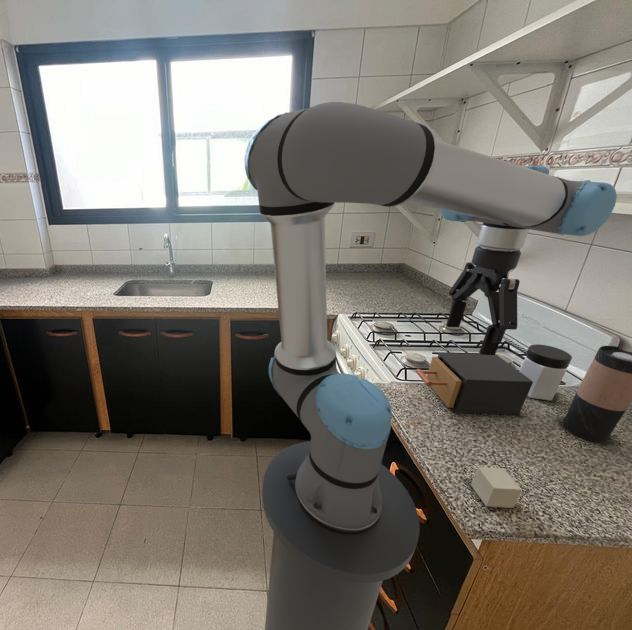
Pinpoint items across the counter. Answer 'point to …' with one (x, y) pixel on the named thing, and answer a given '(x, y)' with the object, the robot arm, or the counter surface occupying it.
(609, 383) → the travel mug
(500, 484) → the block
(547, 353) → the jar
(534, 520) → the counter surface
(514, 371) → the cabinet
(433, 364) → the drawer
